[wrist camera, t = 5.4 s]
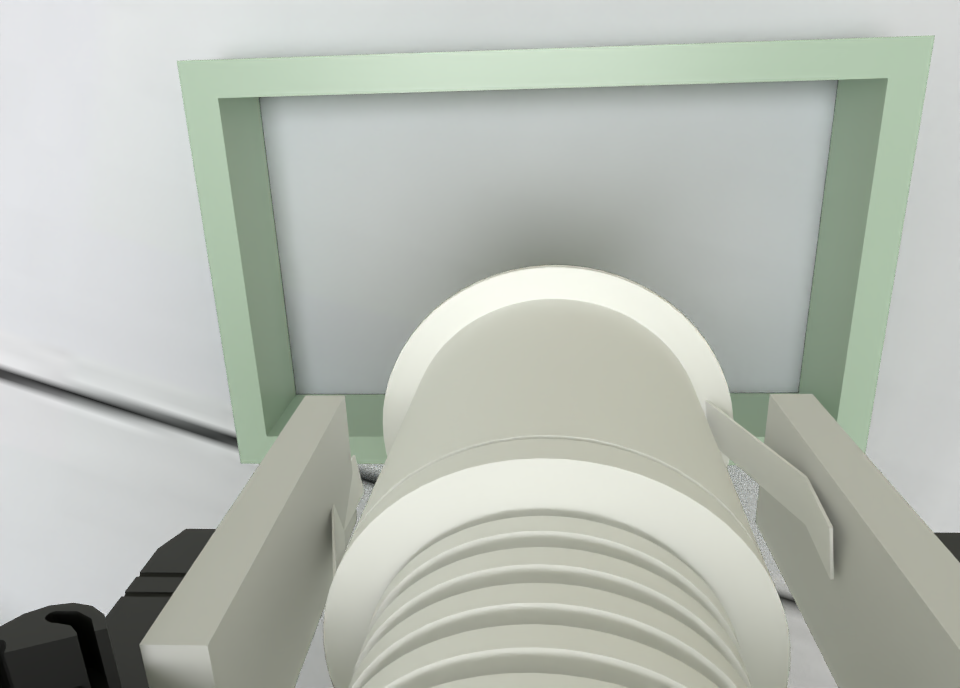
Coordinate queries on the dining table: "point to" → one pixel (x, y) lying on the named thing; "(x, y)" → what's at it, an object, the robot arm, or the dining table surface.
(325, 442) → the robot arm
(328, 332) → the dining table surface
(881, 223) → the bin
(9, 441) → the dining table surface
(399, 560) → the downlight
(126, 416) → the dining table surface
